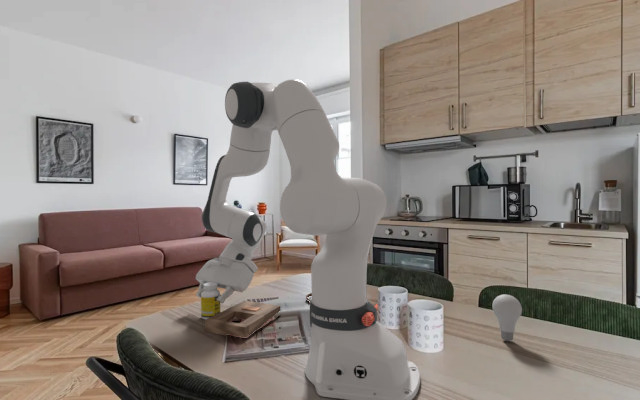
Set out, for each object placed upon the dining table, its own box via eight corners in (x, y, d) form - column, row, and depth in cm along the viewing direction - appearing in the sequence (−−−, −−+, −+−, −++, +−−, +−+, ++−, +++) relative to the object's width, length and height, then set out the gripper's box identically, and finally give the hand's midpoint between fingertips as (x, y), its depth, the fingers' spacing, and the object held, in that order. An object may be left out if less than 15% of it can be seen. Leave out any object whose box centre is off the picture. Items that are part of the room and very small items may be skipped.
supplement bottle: (217, 320, 96) (216, 286, 96) (198, 320, 96) (197, 286, 96) (223, 313, 102) (222, 281, 101) (205, 313, 102) (204, 281, 101)
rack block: (280, 315, 98) (280, 304, 98) (245, 339, 83) (245, 326, 83) (244, 310, 104) (244, 299, 104) (204, 331, 88) (204, 319, 88)
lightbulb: (525, 340, 79) (524, 294, 79) (518, 349, 75) (518, 300, 75) (496, 333, 83) (496, 289, 83) (489, 341, 79) (488, 295, 79)
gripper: (206, 251, 110) (180, 288, 102) (251, 257, 99) (225, 299, 91) (218, 262, 114) (193, 299, 106) (262, 269, 102) (238, 310, 95)
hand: (208, 299), depth 98 cm, fingers open, 8 cm apart
